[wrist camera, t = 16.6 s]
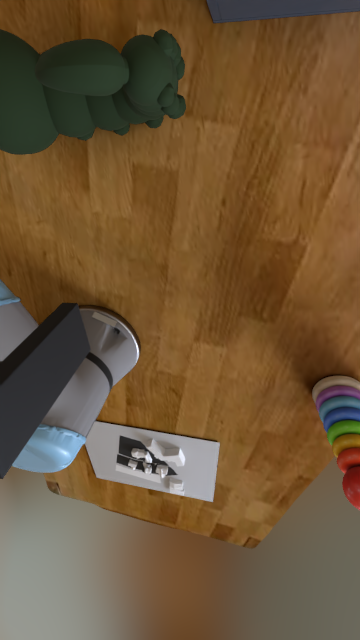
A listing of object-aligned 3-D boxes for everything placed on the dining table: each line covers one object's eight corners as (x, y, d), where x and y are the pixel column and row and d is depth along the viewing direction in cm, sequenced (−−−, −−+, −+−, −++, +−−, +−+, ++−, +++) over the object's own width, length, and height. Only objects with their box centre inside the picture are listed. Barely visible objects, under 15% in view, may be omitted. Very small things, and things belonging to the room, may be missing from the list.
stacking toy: (349, 366, 44) (401, 489, 29) (371, 396, 47) (431, 524, 32) (302, 383, 48) (327, 500, 33) (325, 410, 51) (358, 530, 36)
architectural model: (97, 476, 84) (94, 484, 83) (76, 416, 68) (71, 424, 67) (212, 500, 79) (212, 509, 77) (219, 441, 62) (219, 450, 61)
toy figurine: (190, 33, 28) (-37, 52, 31) (158, -86, 12) (-297, -26, 15) (191, 144, 33) (-3, 152, 36) (170, 159, 18) (-169, 171, 20)
